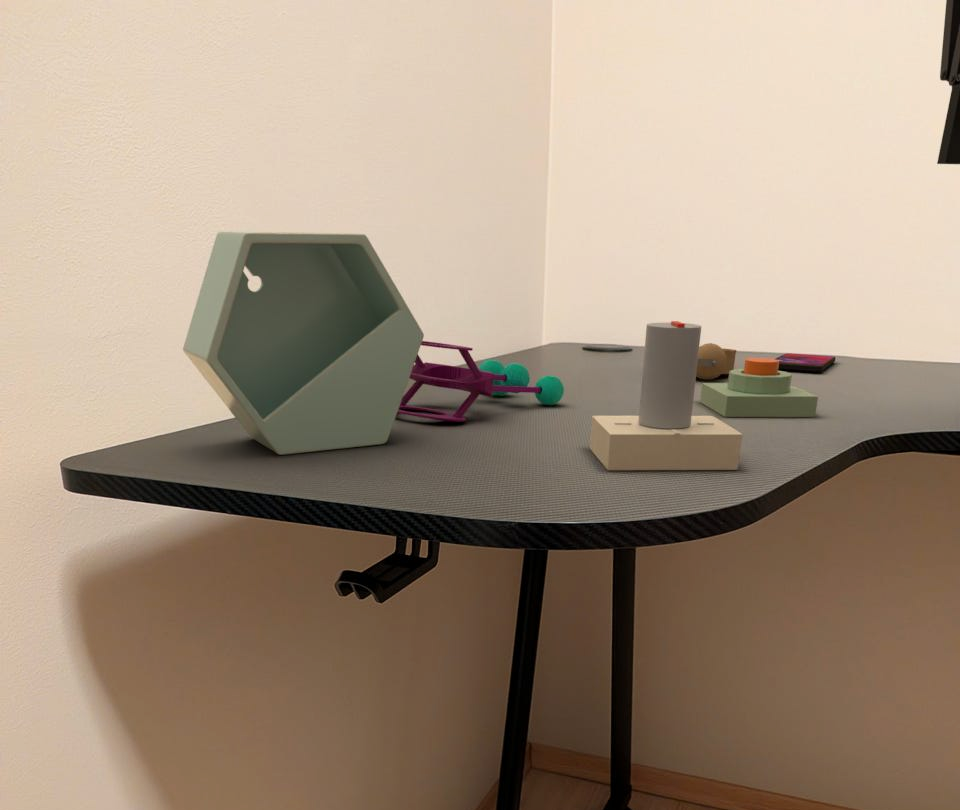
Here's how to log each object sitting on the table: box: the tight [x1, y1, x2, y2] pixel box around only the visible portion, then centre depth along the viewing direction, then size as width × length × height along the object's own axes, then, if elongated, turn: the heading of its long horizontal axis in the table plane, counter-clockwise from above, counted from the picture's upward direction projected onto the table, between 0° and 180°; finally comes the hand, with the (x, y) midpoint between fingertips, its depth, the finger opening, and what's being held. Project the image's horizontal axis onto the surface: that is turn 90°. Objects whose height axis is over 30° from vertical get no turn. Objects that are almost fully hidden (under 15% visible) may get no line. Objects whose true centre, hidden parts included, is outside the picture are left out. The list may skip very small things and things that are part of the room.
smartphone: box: [775, 353, 837, 372], centre depth 136 cm, size 8×1×15 cm
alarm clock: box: [696, 342, 738, 381], centre depth 124 cm, size 11×5×15 cm
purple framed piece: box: [397, 340, 565, 422], centre depth 98 cm, size 12×20×7 cm, turn 134°
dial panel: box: [589, 415, 743, 471], centre depth 78 cm, size 11×9×3 cm
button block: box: [699, 368, 819, 418], centre depth 101 cm, size 10×9×4 cm
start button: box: [743, 357, 779, 376], centre depth 100 cm, size 4×4×2 cm
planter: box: [182, 231, 425, 456], centre depth 79 cm, size 17×8×21 cm
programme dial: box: [638, 320, 702, 429], centre depth 76 cm, size 4×4×8 cm
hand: (954, 163), depth 87 cm, fingers closed
